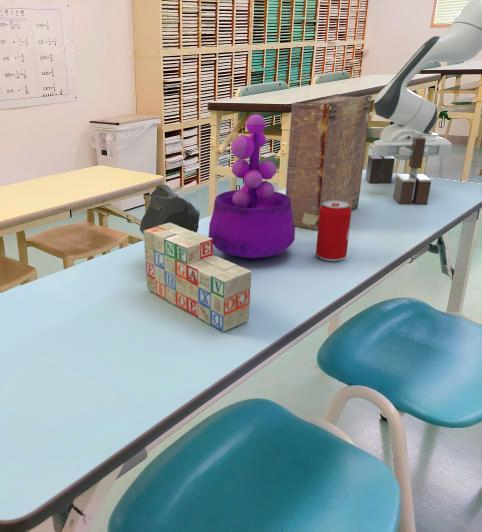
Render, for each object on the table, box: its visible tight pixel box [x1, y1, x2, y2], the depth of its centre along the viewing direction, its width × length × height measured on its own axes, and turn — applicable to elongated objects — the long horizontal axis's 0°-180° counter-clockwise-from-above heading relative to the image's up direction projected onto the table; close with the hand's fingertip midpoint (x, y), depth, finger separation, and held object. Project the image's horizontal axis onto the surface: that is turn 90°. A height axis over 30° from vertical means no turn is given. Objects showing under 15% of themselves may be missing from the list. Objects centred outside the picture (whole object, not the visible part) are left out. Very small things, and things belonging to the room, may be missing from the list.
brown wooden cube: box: [392, 173, 432, 205], centre depth 147 cm, size 7×7×7 cm
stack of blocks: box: [143, 223, 252, 333], centre depth 91 cm, size 21×6×12 cm, turn 35°
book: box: [285, 93, 373, 231], centre depth 134 cm, size 25×9×30 cm, turn 137°
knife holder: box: [365, 154, 396, 184], centre depth 169 cm, size 7×6×8 cm
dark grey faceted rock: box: [139, 184, 201, 236], centre depth 107 cm, size 14×15×18 cm
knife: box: [408, 137, 426, 201], centre depth 145 cm, size 2×5×17 cm, turn 169°
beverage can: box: [315, 200, 352, 262], centre depth 110 cm, size 6×6×12 cm
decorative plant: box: [208, 114, 296, 259], centre depth 111 cm, size 19×18×30 cm
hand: (418, 153), depth 143 cm, fingers closed on knife, 2 cm apart
